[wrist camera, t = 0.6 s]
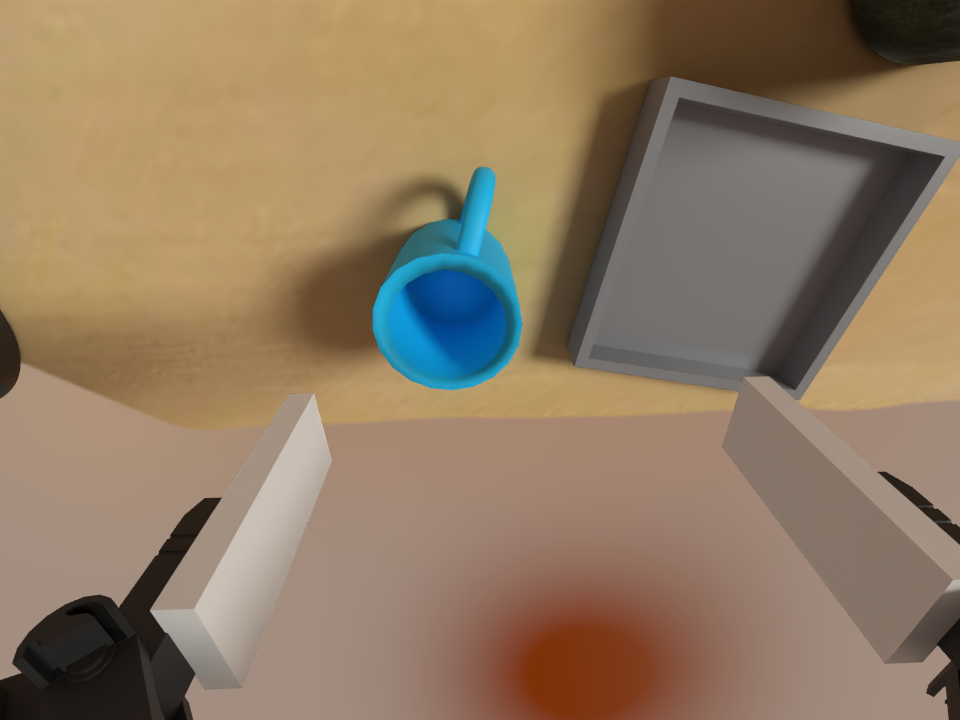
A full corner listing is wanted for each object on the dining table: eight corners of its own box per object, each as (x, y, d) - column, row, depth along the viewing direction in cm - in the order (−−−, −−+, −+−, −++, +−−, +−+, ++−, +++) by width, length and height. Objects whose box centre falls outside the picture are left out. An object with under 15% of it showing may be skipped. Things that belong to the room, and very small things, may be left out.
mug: (491, 341, 33) (496, 403, 26) (385, 314, 32) (361, 371, 25) (546, 179, 28) (572, 202, 21) (420, 140, 27) (401, 149, 19)
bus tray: (566, 346, 34) (574, 366, 31) (650, 80, 25) (671, 76, 22) (775, 379, 35) (799, 400, 33) (919, 140, 27) (967, 143, 24)
